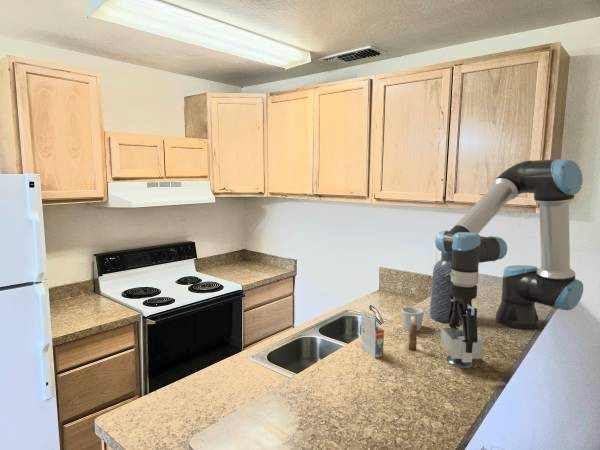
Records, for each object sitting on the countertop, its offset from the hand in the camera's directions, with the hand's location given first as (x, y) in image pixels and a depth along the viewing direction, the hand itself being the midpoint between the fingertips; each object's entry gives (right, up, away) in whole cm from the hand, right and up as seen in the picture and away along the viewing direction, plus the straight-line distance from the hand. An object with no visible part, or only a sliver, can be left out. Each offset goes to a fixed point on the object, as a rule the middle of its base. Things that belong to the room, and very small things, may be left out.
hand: (459, 354), depth 118 cm
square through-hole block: (0, +1, 0) cm, 1 cm away
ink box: (-26, -3, +7) cm, 27 cm away
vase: (+11, +1, +40) cm, 42 cm away
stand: (-12, -2, +9) cm, 15 cm away
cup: (-7, -1, +26) cm, 27 cm away
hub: (0, -4, 0) cm, 4 cm away
